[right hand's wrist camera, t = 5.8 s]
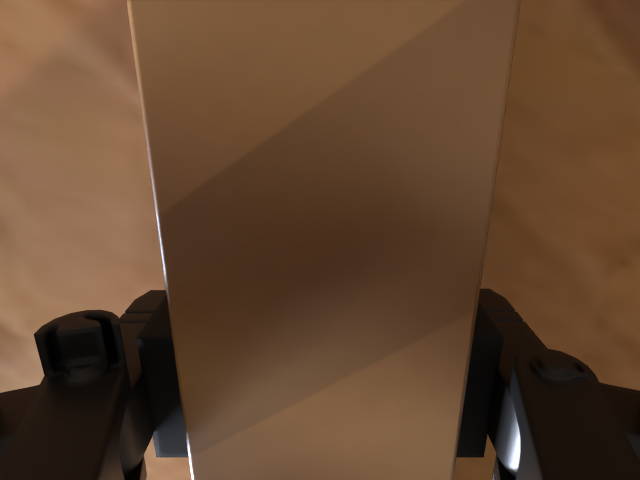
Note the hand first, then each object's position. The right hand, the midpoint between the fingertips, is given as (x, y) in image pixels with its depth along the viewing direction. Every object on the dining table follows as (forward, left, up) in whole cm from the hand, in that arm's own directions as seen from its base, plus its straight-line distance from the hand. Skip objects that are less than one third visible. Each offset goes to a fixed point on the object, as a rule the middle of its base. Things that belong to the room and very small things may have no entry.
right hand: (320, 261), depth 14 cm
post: (-11, -19, -1) cm, 22 cm away
